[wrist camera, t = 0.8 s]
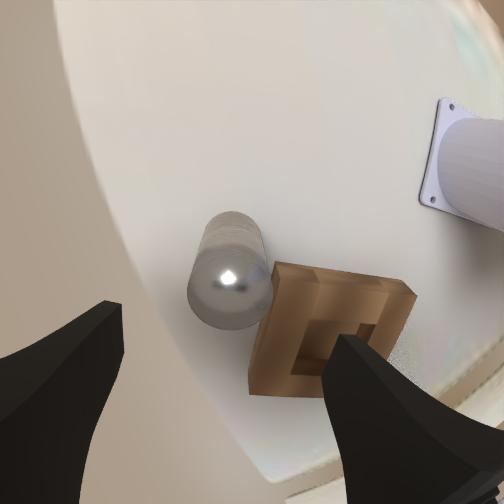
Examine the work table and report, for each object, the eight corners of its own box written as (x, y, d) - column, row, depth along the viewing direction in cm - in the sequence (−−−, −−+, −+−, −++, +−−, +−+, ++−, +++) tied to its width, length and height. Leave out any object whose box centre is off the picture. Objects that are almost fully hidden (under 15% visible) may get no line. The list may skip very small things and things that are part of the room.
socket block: (401, 280, 21) (417, 296, 18) (357, 377, 24) (365, 396, 22) (275, 261, 20) (280, 278, 17) (247, 372, 23) (249, 394, 21)
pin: (265, 216, 19) (281, 262, 12) (254, 269, 20) (263, 334, 13) (207, 207, 18) (191, 248, 12) (200, 261, 19) (184, 323, 13)
